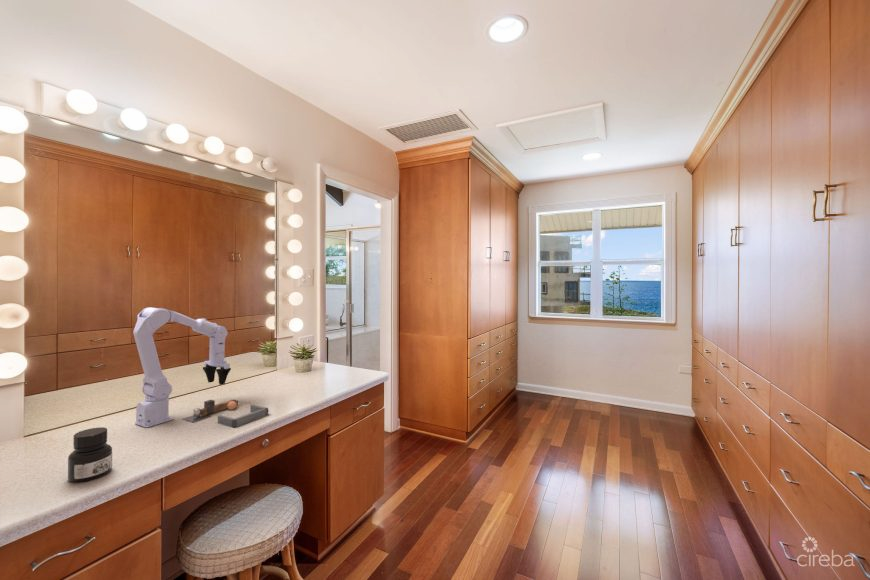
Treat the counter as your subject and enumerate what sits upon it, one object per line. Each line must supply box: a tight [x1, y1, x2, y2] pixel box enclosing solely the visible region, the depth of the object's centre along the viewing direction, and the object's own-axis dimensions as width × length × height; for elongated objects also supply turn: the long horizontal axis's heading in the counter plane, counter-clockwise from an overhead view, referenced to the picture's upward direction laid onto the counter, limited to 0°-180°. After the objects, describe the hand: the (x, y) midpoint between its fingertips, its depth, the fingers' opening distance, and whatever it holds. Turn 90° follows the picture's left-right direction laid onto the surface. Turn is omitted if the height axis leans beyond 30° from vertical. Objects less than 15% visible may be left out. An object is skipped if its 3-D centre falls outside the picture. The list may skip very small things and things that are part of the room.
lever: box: [200, 399, 239, 415], centre depth 150 cm, size 14×4×5 cm, turn 155°
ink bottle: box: [67, 426, 113, 483], centre depth 100 cm, size 10×9×12 cm
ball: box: [227, 401, 238, 411], centre depth 153 cm, size 4×4×4 cm
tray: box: [217, 404, 269, 429], centre depth 142 cm, size 15×9×3 cm, turn 155°
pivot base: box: [181, 407, 212, 423], centre depth 142 cm, size 7×7×4 cm
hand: (216, 383), depth 158 cm, fingers open, 7 cm apart
